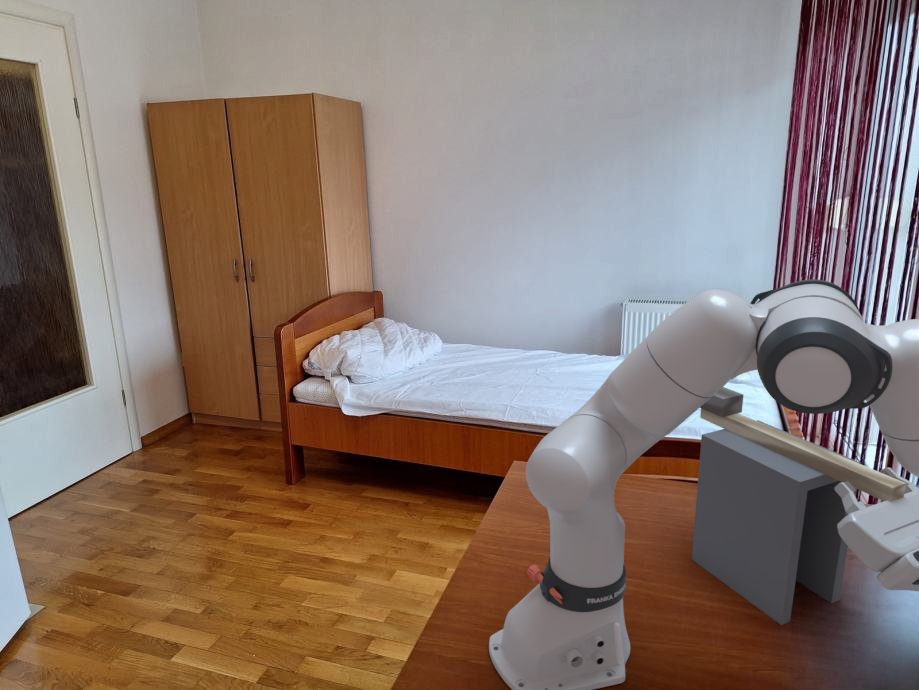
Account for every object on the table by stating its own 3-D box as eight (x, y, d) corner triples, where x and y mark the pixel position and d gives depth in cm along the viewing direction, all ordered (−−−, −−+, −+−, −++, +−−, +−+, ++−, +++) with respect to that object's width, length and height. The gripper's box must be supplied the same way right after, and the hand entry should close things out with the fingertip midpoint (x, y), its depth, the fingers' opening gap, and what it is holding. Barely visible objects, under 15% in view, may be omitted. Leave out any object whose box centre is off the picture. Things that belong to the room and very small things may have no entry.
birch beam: (885, 505, 88) (891, 466, 86) (696, 418, 120) (698, 389, 118) (907, 497, 90) (914, 459, 88) (715, 414, 122) (718, 385, 120)
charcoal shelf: (781, 625, 102) (799, 482, 95) (691, 559, 120) (701, 434, 113) (839, 600, 108) (861, 462, 101) (745, 540, 125) (758, 420, 118)
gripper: (1001, 529, 87) (919, 450, 95) (908, 570, 79) (827, 479, 87) (968, 552, 91) (892, 474, 99) (876, 592, 83) (802, 504, 92)
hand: (861, 477), depth 93 cm, fingers open, 8 cm apart
